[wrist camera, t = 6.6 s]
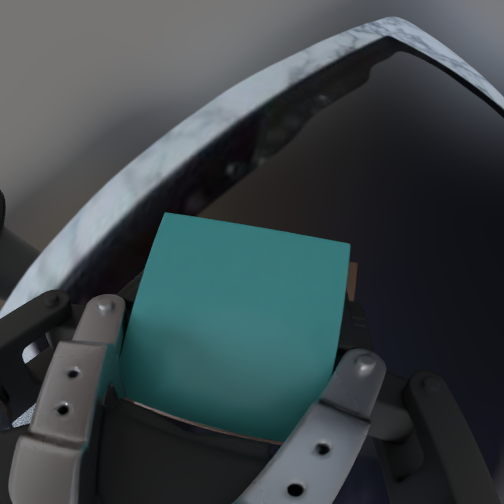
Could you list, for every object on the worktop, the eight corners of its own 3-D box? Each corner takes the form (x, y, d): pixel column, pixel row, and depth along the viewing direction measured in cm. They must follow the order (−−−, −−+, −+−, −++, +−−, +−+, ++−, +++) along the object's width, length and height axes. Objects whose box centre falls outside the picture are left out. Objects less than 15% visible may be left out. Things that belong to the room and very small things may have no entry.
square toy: (173, 382, 11) (111, 391, 6) (202, 269, 13) (164, 211, 8) (295, 411, 11) (315, 446, 6) (318, 291, 13) (351, 243, 8)
